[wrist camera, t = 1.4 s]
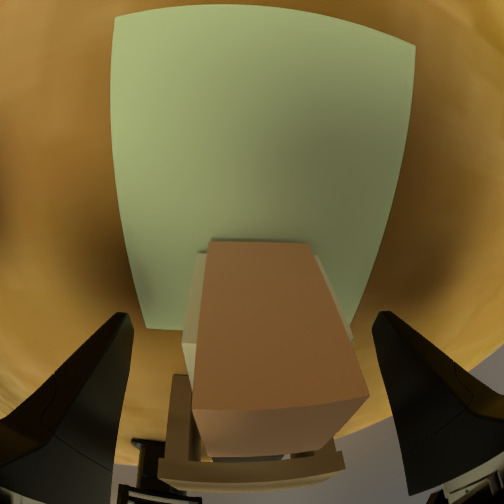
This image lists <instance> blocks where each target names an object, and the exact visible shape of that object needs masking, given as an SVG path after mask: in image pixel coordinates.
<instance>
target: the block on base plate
mask: <svg viewBox="0 0 504 504" xmlns="http://www.w3.org/2000/svg"><path fill="white" fill-rule="evenodd" d="M353 339H354V337H353V334H352V332H351V329H350V327H349V325H348V322H347V320H346V317H345V315H344V313H343V310H342V308H341V306H340V303H339V301H338V299H337V297H336V294H335V292H334V290H333V287H332V285H331V283H330V281H329V279H328V276H327V274H326V272H325V270H324V268H323V265H322V263H321V261H320V259H319V257H318V255H314V254H313V252H312V250H311V248H310V246H309V244H308V243H280V242H228V241H209V243H208V250H207V253H196V259H195V264H194V269H193V275H192V280H191V286H190V291H189V297H188V303H187V309H186V315H185V322H184V328H183V335H182V342H181V344H182V349H183V353H184V358H185V362H186V367H187V371H188V375H189V380H190V384H191V388H192V392H193V394H192V412H193V415H194V418H195V421H196V424H197V427H198V430H199V433H200V436H201V439H202V442H203V444H204V447H205V450H206V452H207V455H208V457H212V460H213V462H219V463H241V462H264V461H277V460H281V459H282V457H283V456H284V455H285V454H292V453H300V452H307V451H314V450H320V449H321V448H322V447H323V446H324V445H325V444H326V443H327V442H328V441H329V440H330V439H331V438H332V437H333V436H334V435H335V434H336V433H337V432H338V431H339V430H340V429H341V428H342V427H343V426H344V425H345V423H346V422H347V421H348V420H349V419H350V418H351V417H352V416H353V415H354V414H355V412H356V411H357V410H358V409H359V408H360V407H361V406H362V404H363V403H364V402H365V401H366V400H367V398H368V397H369V396H370V394H369V391H368V389H367V386H366V383H365V380H364V377H363V375H362V372H361V369H360V366H359V364H358V361H357V358H356V356H355V353H354V350H353V348H352V345H351V343H352V341H353Z"/></svg>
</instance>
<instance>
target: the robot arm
mask: <svg viewBox="0 0 504 504" xmlns="http://www.w3.org/2000/svg"><path fill="white" fill-rule="evenodd" d="M372 334H373V339H374V344H375V349H376V353H377V359H378V363H379V367H380V371H381V374H382V378H383V381H384V385H385V388H386V392H387V395H388V399H389V403H390V406H391V410H392V414H393V418H394V422H395V426H396V431H397V435H398V439H399V444H400V449H401V453H402V459H403V465H404V470H405V476H406V482H407V488H408V494H409V496H412V495H415V494H418V493H420V492H423V491H426V490H429V489H431V488H434V487H436V486H439V485H441V484H442V488H441V489H439V490H437V491H435V492H434V493H432V494H431V495H430V497H429V499H428V501H427V503H426V504H504V395H500V394H498V393H496V392H495V391H493V390H492V389H490V388H489V387H488V386H486V385H485V384H483V383H482V382H480V381H479V380H478V379H476V378H475V377H474V376H472V375H471V374H469V373H468V372H467V371H466V370H464V369H463V368H462V367H461V366H459V365H458V364H457V363H456V362H453V360H452V359H451V358H450V357H448V356H447V355H446V354H445V353H443V352H442V351H441V350H440V349H438V348H437V347H436V346H435V345H433V344H432V343H431V342H430V341H428V340H427V339H426V338H425V337H423V336H422V335H421V334H419V333H418V332H417V331H416V330H414V329H413V328H412V327H410V326H409V325H408V324H407V323H405V322H404V321H403V320H401V319H400V318H399V317H397V316H396V315H395V314H394V313H392V312H391V311H381V312H379V314H378V316H377V318H376V320H375V322H374V324H373V326H372ZM133 338H134V328H133V325H132V323H131V320H130V317H129V314H128V313H124V312H117V313H115V314H114V315H113V316H112V317H111V318H110V319H109V320H108V321H107V322H105V323H104V324H103V325H102V326H101V327H100V328H99V329H98V330H97V331H96V332H95V333H94V334H93V335H92V336H91V337H90V338H89V339H88V340H87V341H86V342H84V343H83V344H82V345H81V346H80V347H79V348H78V349H77V350H76V351H75V352H74V353H73V354H72V355H71V356H70V357H69V358H68V359H67V360H66V361H65V362H64V363H63V364H62V365H61V366H60V367H59V368H58V369H57V370H56V371H55V372H54V374H52V375H51V376H50V377H49V378H48V379H47V380H46V381H45V382H44V383H43V384H42V385H41V386H40V387H39V388H38V389H37V390H36V391H35V392H34V393H33V394H32V395H31V396H30V397H28V398H27V399H26V400H25V401H24V402H23V403H21V404H20V405H19V406H18V407H17V408H16V409H15V410H13V411H12V412H11V413H10V414H9V415H7V416H6V417H4V418H2V419H0V504H110V497H111V484H112V474H113V472H112V471H113V464H114V456H115V448H116V441H117V435H118V428H119V422H120V417H121V411H122V406H123V400H124V395H125V391H126V386H127V381H128V376H129V371H130V362H131V354H132V346H133ZM131 443H132V444H133V445H134V446H135V447H136V448H137V449H139V450H140V454H139V463H138V473H137V485H136V488H135V487H130V486H129V485H126V484H125V485H122V484H119V488H118V497H117V504H128V503H132V504H170V503H163V502H157V501H151V500H146V499H141V498H137V497H132V496H129V493H134V494H138V495H143V496H148V497H153V498H159V499H165V500H172V501H179V502H188V503H189V504H202V498H201V497H188V496H187V491H183V490H178V489H176V488H174V487H172V486H170V485H169V484H167V483H165V482H164V481H162V480H160V479H159V478H157V474H158V461H159V458H164V457H165V444H162V443H154V442H147V441H141V440H135V439H131Z"/></svg>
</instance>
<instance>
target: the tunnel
mask: <svg viewBox="0 0 504 504" xmlns="http://www.w3.org/2000/svg"><path fill="white" fill-rule="evenodd" d="M192 394H193V392H192V388H191V384H190V380H189V376H184V375H173V379H172V387H171V395H170V404H169V413H168V423H167V433H166V444H165V457H164V458H159V461H158V474H157V478H159V479H160V480H162V481H164V482H165V483H167V484H169V485H170V486H172V487H174V488H176V489H178V490H183V491H196V492H213V493H214V492H215V493H243V492H244V493H245V492H265V491H276V490H285V489H293V488H300V487H307V486H313V485H317V484H319V483H321V482H323V481H325V480H327V479H329V478H330V477H332V476H334V475H336V474H338V473H340V472H342V471H343V470H345V469H346V468H345V464H344V459H343V455H342V451H338V452H336V448H335V444H334V439H333V437H332V438H331V439H330V440H329V441H328V442H327V443H326V444H325V445H324V446H323V447H322V448H321V449H320V450H314V451H307V452H300V453H292V454H290V455H291V459H287V460H277V461H264V462H241V463H219V462H200V456H201V436H200V433H199V430H198V427H197V424H196V421H195V418H194V415H193V412H192Z"/></svg>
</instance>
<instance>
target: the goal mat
mask: <svg viewBox="0 0 504 504" xmlns="http://www.w3.org/2000/svg"><path fill="white" fill-rule="evenodd" d="M415 49H416V46H415V45H412V44H410V43H408V42H405V41H403V40H401V39H398V38H396V37H393V36H391V35H388V34H385V33H383V32H380V31H377V30H374V29H371V28H368V27H365V26H362V25H359V24H355V23H352V22H348V21H345V20H341V19H337V18H333V17H329V16H325V15H320V14H315V13H310V12H304V11H299V10H292V9H285V8H277V7H268V6H256V5H235V4H211V5H190V6H178V7H169V8H161V9H154V10H148V11H142V12H137V13H132V14H127V15H122V16H118V17H115V24H114V33H113V43H112V57H111V83H110V109H111V135H112V150H113V162H114V172H115V181H116V189H117V197H118V204H119V210H120V217H121V223H122V228H123V234H124V239H125V244H126V249H127V254H128V259H129V263H130V268H131V272H132V277H133V281H134V285H135V289H136V293H137V296H138V300H139V304H140V307H141V311H142V315H143V318H144V321H145V325H146V328H151V329H166V330H183V328H184V322H185V315H186V309H187V303H188V297H189V291H190V286H191V280H192V275H193V269H194V264H195V259H196V253H207V250H208V243H209V241H228V242H280V243H308V244H309V246H310V248H311V250H312V252H313V254H314V255H318V257H319V259H320V261H321V263H322V265H323V268H324V270H325V272H326V274H327V276H328V279H329V281H330V283H331V285H332V287H333V290H334V292H335V294H336V297H337V299H338V301H339V303H340V306H341V308H342V310H343V313H344V315H345V317H346V320H347V322H348V325H349V327H350V324H351V322H352V320H353V317H354V315H355V312H356V310H357V308H358V305H359V303H360V300H361V297H362V295H363V292H364V290H365V287H366V284H367V282H368V279H369V276H370V273H371V271H372V268H373V265H374V262H375V259H376V256H377V253H378V250H379V247H380V244H381V240H382V237H383V234H384V231H385V227H386V224H387V220H388V217H389V213H390V209H391V206H392V202H393V198H394V194H395V190H396V186H397V182H398V177H399V173H400V168H401V163H402V158H403V153H404V148H405V143H406V137H407V131H408V124H409V118H410V110H411V102H412V93H413V83H414V70H415Z"/></svg>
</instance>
